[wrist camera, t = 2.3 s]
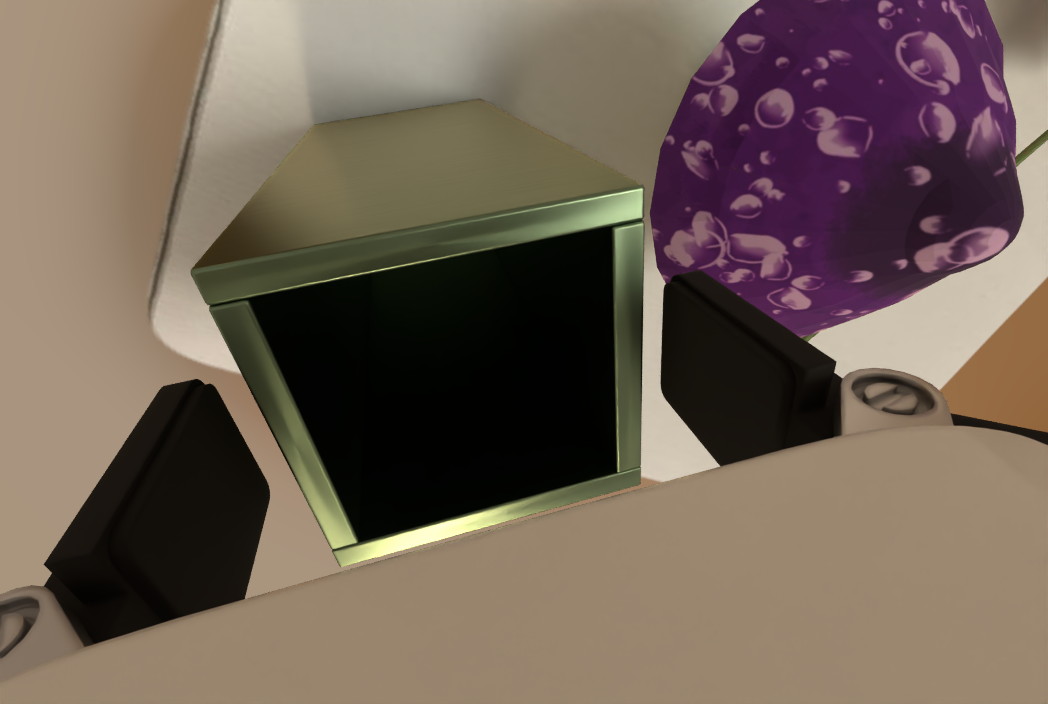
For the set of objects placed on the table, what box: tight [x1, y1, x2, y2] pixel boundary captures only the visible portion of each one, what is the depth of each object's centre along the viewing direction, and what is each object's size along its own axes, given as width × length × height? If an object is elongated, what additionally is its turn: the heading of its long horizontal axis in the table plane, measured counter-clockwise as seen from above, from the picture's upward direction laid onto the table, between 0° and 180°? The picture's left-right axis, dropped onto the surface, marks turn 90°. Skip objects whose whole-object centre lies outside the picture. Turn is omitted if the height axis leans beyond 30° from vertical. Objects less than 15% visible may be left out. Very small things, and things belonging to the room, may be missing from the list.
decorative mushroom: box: [650, 0, 1024, 337], centre depth 18 cm, size 12×12×15 cm
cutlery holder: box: [191, 99, 644, 567], centre depth 16 cm, size 7×7×16 cm
